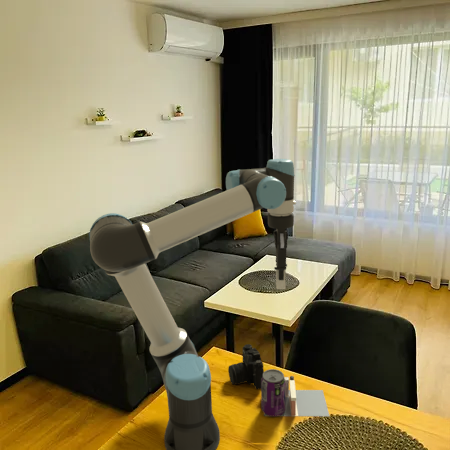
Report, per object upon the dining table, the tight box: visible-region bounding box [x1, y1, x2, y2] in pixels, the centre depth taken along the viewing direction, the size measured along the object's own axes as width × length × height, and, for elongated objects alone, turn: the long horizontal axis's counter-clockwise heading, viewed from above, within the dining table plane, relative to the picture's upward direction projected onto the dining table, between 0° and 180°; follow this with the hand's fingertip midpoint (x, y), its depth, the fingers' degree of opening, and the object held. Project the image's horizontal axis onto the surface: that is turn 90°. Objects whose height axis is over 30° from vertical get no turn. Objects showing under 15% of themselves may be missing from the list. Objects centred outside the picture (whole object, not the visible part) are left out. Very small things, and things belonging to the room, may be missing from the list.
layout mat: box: [263, 389, 330, 417], centre depth 133 cm, size 19×12×1 cm, turn 87°
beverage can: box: [260, 368, 285, 417], centre depth 128 cm, size 7×7×12 cm
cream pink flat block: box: [289, 379, 297, 417], centre depth 130 cm, size 8×2×6 cm, turn 174°
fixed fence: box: [284, 375, 295, 396], centre depth 136 cm, size 9×2×6 cm, turn 87°
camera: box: [227, 343, 265, 390], centre depth 144 cm, size 14×11×10 cm
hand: (280, 288), depth 132 cm, fingers closed
